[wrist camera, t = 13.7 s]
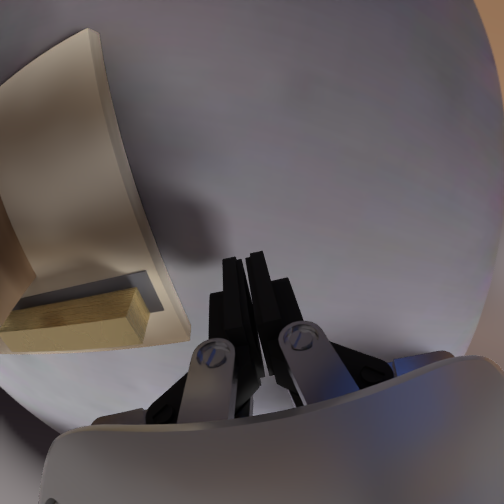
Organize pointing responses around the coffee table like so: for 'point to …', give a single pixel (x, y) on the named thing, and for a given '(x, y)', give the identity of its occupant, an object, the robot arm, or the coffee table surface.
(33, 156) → the dock
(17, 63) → the coffee table surface
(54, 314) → the yellow bar
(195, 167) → the coffee table surface
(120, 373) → the coffee table surface
